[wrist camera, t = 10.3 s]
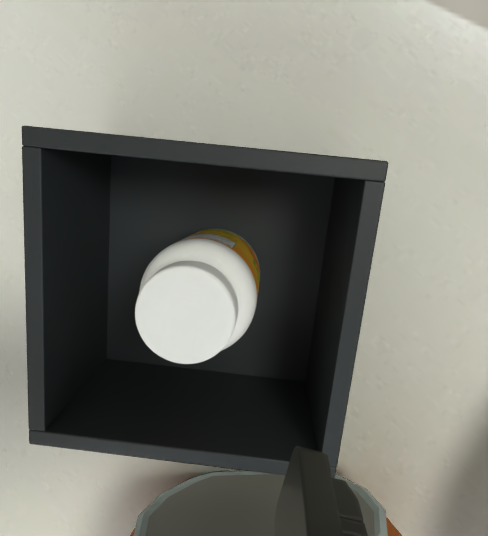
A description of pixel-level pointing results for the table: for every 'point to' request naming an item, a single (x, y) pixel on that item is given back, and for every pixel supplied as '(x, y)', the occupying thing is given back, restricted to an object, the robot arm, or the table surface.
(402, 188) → the table surface
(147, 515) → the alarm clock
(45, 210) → the bin
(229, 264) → the supplement bottle
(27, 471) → the table surface
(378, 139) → the table surface
